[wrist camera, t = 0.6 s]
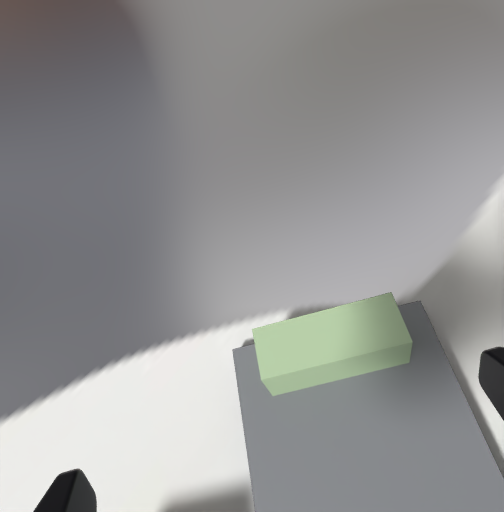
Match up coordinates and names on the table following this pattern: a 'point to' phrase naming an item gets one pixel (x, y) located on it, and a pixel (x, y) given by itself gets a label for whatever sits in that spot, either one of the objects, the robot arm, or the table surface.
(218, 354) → the table surface
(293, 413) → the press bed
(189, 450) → the table surface
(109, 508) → the table surface
